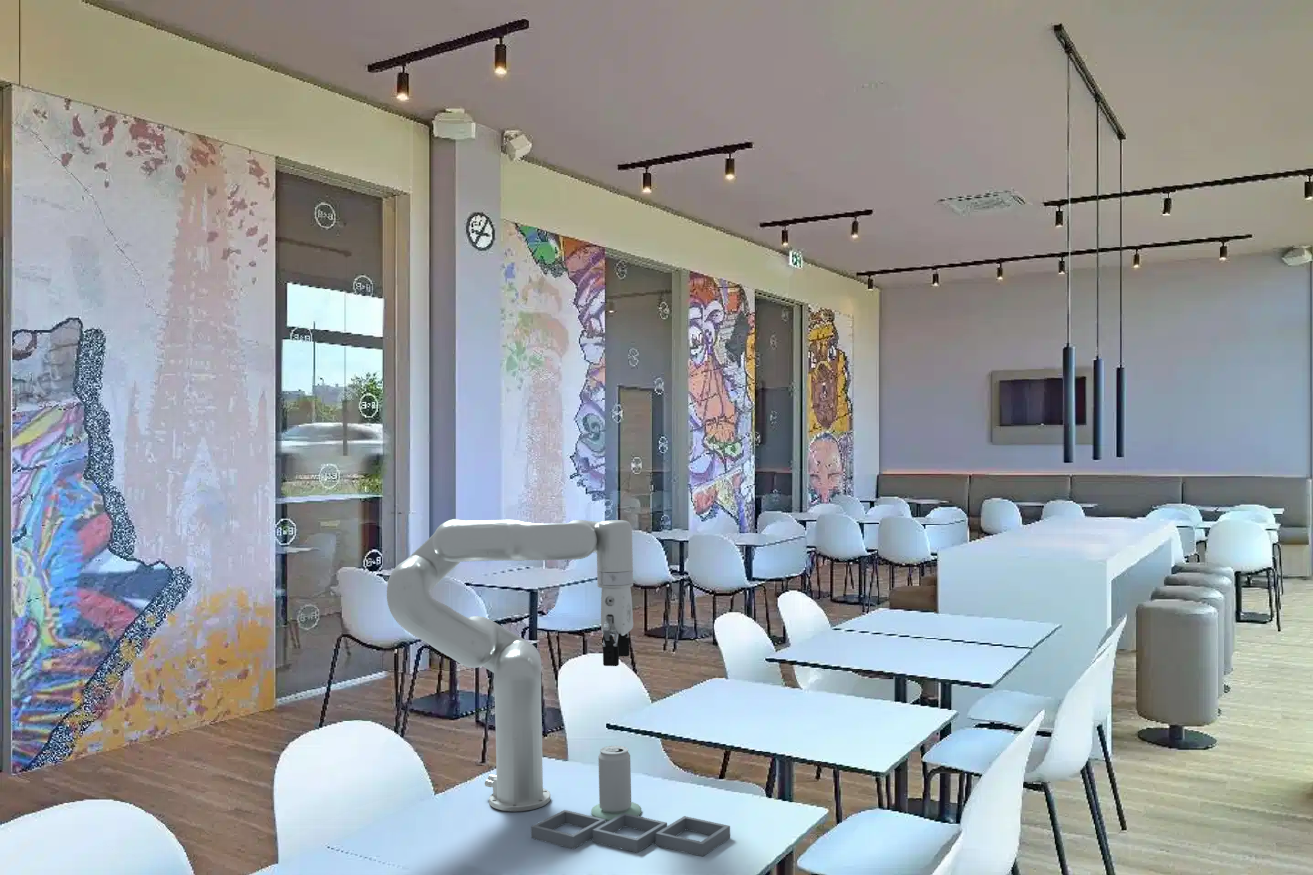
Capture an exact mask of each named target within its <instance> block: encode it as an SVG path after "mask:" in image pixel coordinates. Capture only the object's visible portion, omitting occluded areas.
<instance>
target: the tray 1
mask: <svg viewBox="0 0 1313 875" xmlns="http://www.w3.org/2000/svg"><path fill="white" fill-rule="evenodd" d="M606 822H607V821H606V819H602V818H598V817H593V816H592V815H588V814H584V813H580V812H577V811H576V812H574V811H571V810H567V809H564V810H561V811H559V812H558V813H555V814H554V815H551V816H550V817H547V818H545V819H543V820H541V821H540V822H537V823H535V824H534V825H531V826H530V834H531V836H530V838H531V839H532V838H533V840H536V839H537V841H541V842H545V843H547V844H552V845H555V846H560V847H563V848H568V849H573V850H574V849H576V848H578V847H580V846H581V845H583V844H585V843H587V842H589V841H591V840H593V829H595V828H597V827H599V826H601V825H602V824H604V823H606ZM565 824H566V825H570V826H575V827H580V828H583V829H580V830H579V831H576V832H574V833H573V834H572V833H568V832H563V831H559V830H555V829H557V828H559V827H561V826H563V825H565Z"/></svg>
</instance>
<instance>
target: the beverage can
mask: <svg viewBox="0 0 1313 875" xmlns="http://www.w3.org/2000/svg"><path fill="white" fill-rule="evenodd" d="M599 752H600V753H599V755H598V794H599V795H598V796H599V800H598V802H599V803H598V804H600V808H601V809H602V810H603V811H604V812H606V813H611V814H618V813H623V812H626V811H627V810H628V809H629V808H630V807H631V802H632V774H631V771H632V770H631V769H632V768H631V766H632V765H631V754H630V752H629V748H628V747H627V746H624V745H609V746H604V747H602V748H600V750H599Z"/></svg>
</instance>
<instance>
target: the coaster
mask: <svg viewBox="0 0 1313 875" xmlns="http://www.w3.org/2000/svg"><path fill="white" fill-rule="evenodd" d="M623 813H626V814H631V815H635V816H640V815H641V813H642V807H641V805H639V804H638V803H635V802H633V801H631V807H630V808H629V809H628V810H627V811H626V812H623ZM623 813H618V814H611V813H606V812H604V811H603V810H602V809H601V808H600V803H597V804H596V805H593V806H592V808H591V812H590V814H591V816H593V817H598V818H602V819H606V822H608V821H610V820H612V819H613V818H615V817H617V816H619V815H621V814H623Z"/></svg>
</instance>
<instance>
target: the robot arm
mask: <svg viewBox="0 0 1313 875" xmlns="http://www.w3.org/2000/svg"><path fill="white" fill-rule="evenodd" d="M592 553H593V554H594V553H596V567H597V568H596V570H597V571H596V581H597V582H596V583H597V585H596V586H597V588H601V598H600V627H601V628H600V629H601V633H602V635H603V636H602V639H603V640H602V665H603V666H605V667H618V666H619V665H620V657H629V656H631V654H630V653H631V652H630V631H632V629H634V617H633V616H634V615H633V611H634V610H633V599H632V589H631V587H634V573H633V572H634V570H633V569H634V567H633V566H634V564H633V563H634V562H633V560H634V559H633V527H632V524H631V523H630V521H629V520H622V519H613V520H612V519H611V520H609V519H608V520H602V521H595V520H594V521H593V520H585V519H574V520H571V521H569V522H567V523H562V522H561V523H560V522H559V523H537V522H536V523H532V522H526V521H522V520H516V519H487V520H480V519H479V520H464V519H460V518H453V519H449V520H447V521H444V522H443V523H441V524H440V525H439V526H437V528H436V530H435V531H434V533H433V534H432V535H431V536H430V537H429V538H428V539H427V540H426V541H425V542H424V543H422V544H421V545H420V546H419V547H418V548H417V549H416V550H415V551H414V552H412V554H411V555H409V556H408V557H407V558H406V559H404V561H402V562H400V563H398V564H397V565H396V566H395V567H394V569H392V571H391V573H390V575H389V578H388V580H387V585H386V600H387V601H386V602H387V605H388V609H389V611H390V614H391V615H392V617H393V618H394V620H395V621H396V622H397V624H398V625H399V626H400V627H401V628H403V629H404V630H405V631H406V632H408V633H409V634H411V635H413V636H414V637H416V638H417V639H419V640H421V641H423V642H424V643H426V644H427V645H429V646H431V647H432V648H433V649H435V650H436V651H438V652H440V653H442V654H444V655H445V656H447V657H449V658H451V659H452V660H453V661H455V662H457V663H458V664H460V665H462V666H464V667H465V668H470V669H476V668H481V667H483V668H485V669H486V670H488V671H490V672H491V673H492V674H493V690H494V691H493V692H494V716H495V717H494V718H495V720H494V721H495V723H494V725H495V757H496V758H495V761H496V762H495V764H496V767H495V768H496V770H495V771H496V774H493V773H490V774H489V775H488V777H487V779H486V780H485V781H484V786H485V787H488V788H492V792H493V793H492V794H491V795H490V796H489V798H488V799H489V800H488V801H489V806H490V807H492V808H494V809H495V810H499V811H504V812H525V811H531V810H532V811H533V810H536V809H539V808H541V807H544V806H546V805H547V804H548V803H550V802H551V792H550V791H549V790H548V789H546V788H544V785H543V784H544V780H543V779H544V778H543V777H544V776H543V773H544V772H543V770H544V769H543V765H544V764H543V728H542V727H543V726H542V725H543V723H542V721H543V720H542V658H541V654H540V652H539V650H538V649H537V648H536V646H534V645H533V644H532V643H531V642H530V641H528V640H526V639H524V638H523V637H521V636H519V635H517V634H516V633H514V632H513V631H511V630H509V629H508V628H505V627H504V626H502V625H500V623H499V624H498V623H497V622H495V621H493V620H491V619H489V618H487V617H484V616H480V615H475V616H470V617H467V616H466V615H464V614H462V613H459V612H457V611H456V610H454V609H453V608H452V607H450V606H448V605H446V604H444V603H443V602H440V601H438V600H436V599H435V598H434V597H433V596H432V595H431V591H432V590H433V589H434V588H435V587H436V586H437V585H438V584H439V583H440V582H441V581H442V580H443V579H444V578H445V577H446V576H447V575H448V574H449V573H450V572H451V571H452V570H454V569H455V568H456V567H457V566H458V565H459V564H461V563H464V562H489V561H490V562H492V561H493V562H499V561H500V562H502V561H506V562H507V561H514V562H522V561H575V560H583V559H585V558H588V557H590V556H591V555H592Z"/></svg>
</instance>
